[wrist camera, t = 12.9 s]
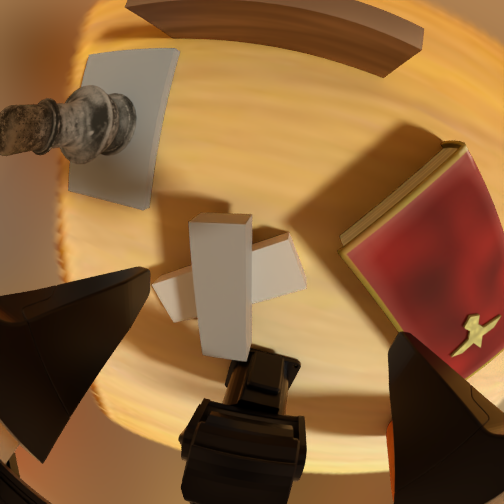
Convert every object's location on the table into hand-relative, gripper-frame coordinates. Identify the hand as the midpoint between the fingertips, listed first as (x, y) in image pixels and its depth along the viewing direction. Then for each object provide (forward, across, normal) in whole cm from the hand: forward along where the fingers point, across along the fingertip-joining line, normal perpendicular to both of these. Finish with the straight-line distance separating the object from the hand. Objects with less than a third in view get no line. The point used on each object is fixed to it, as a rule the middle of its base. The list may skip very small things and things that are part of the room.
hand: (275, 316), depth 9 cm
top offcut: (+10, +3, +6) cm, 12 cm away
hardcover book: (+13, -15, +1) cm, 20 cm away
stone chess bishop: (+11, +15, -5) cm, 20 cm away
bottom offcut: (+13, +4, +6) cm, 15 cm away
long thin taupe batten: (+12, +4, -13) cm, 18 cm away
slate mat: (+12, +15, -5) cm, 20 cm away
